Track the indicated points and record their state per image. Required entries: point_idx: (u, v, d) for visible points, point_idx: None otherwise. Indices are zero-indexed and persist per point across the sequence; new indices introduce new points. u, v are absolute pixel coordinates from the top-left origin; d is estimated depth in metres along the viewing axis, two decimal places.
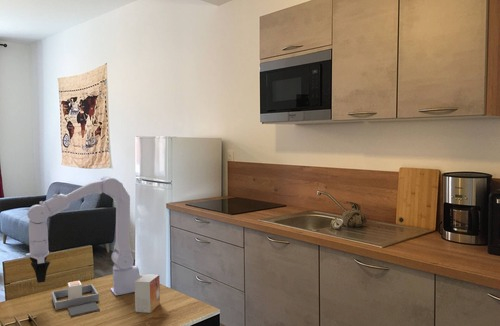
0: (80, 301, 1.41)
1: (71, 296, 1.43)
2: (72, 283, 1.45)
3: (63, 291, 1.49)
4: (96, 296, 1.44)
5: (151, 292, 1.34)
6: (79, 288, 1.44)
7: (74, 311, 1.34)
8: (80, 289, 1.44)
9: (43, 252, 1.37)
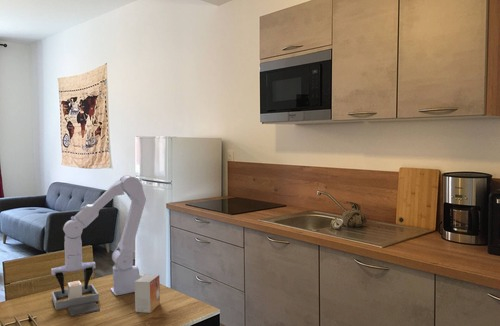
0: (80, 301, 1.41)
1: (71, 296, 1.43)
2: (72, 283, 1.45)
3: None
4: (96, 296, 1.44)
5: (151, 292, 1.34)
6: (79, 288, 1.44)
7: (74, 311, 1.34)
8: (80, 289, 1.44)
9: (66, 266, 1.43)
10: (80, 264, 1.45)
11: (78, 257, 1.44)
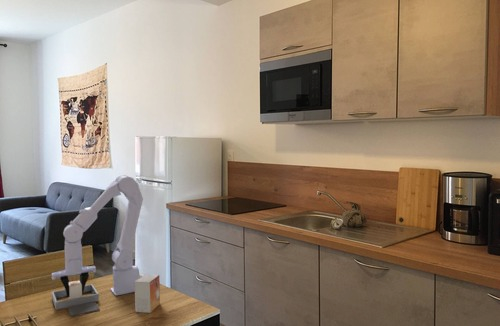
0: (80, 301, 1.41)
1: (71, 296, 1.43)
2: (72, 283, 1.45)
3: (63, 291, 1.49)
4: (96, 296, 1.44)
5: (151, 292, 1.34)
6: (79, 288, 1.44)
7: (74, 311, 1.34)
8: (80, 289, 1.44)
9: (66, 271, 1.43)
10: (80, 268, 1.45)
11: (78, 261, 1.44)
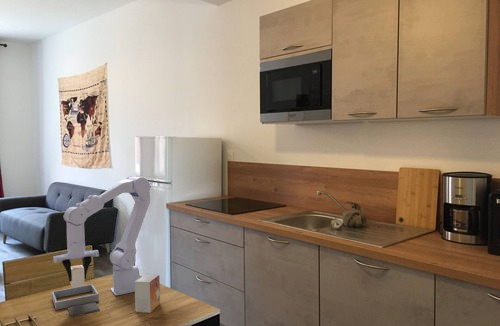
0: (80, 301, 1.41)
1: (73, 280, 1.39)
2: (74, 267, 1.42)
3: (63, 291, 1.49)
4: (96, 296, 1.44)
5: (151, 292, 1.34)
6: (81, 272, 1.40)
7: (74, 311, 1.34)
8: (82, 273, 1.41)
9: (68, 254, 1.39)
10: (83, 252, 1.41)
11: (81, 245, 1.40)
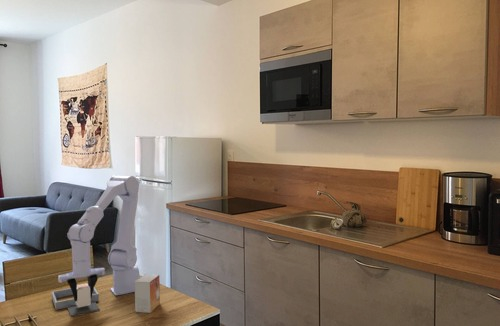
0: None
1: (79, 300, 1.34)
2: (80, 286, 1.37)
3: (63, 291, 1.49)
4: (96, 296, 1.44)
5: (151, 292, 1.34)
6: (87, 292, 1.36)
7: (74, 311, 1.34)
8: (88, 292, 1.36)
9: (74, 273, 1.34)
10: (89, 270, 1.36)
11: (87, 263, 1.35)
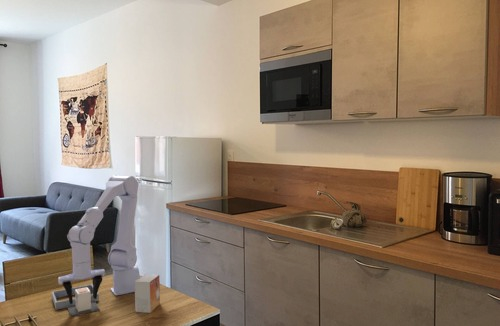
0: None
1: (79, 304, 1.34)
2: (80, 290, 1.37)
3: (63, 291, 1.49)
4: None
5: (151, 292, 1.34)
6: (88, 296, 1.36)
7: (74, 311, 1.34)
8: (89, 296, 1.36)
9: (74, 275, 1.34)
10: (89, 272, 1.36)
11: (87, 265, 1.35)
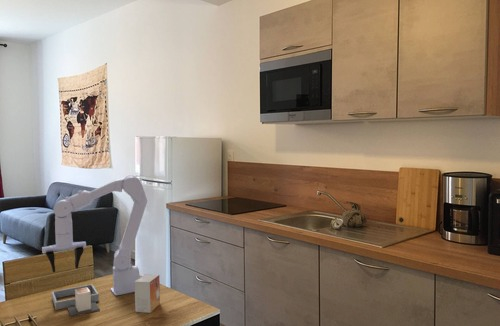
0: None
1: (79, 304, 1.34)
2: (80, 290, 1.37)
3: (63, 291, 1.49)
4: (96, 296, 1.44)
5: (151, 292, 1.34)
6: (88, 296, 1.36)
7: (74, 311, 1.34)
8: (89, 296, 1.36)
9: (57, 245, 1.45)
10: (71, 243, 1.46)
11: (69, 236, 1.45)
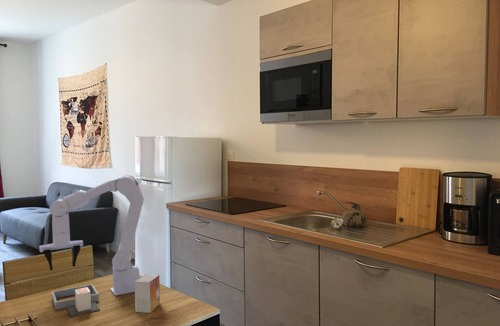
0: None
1: (79, 304, 1.34)
2: (80, 290, 1.37)
3: (63, 291, 1.49)
4: (96, 296, 1.44)
5: (151, 292, 1.34)
6: (88, 296, 1.36)
7: (74, 311, 1.34)
8: (89, 296, 1.36)
9: (54, 244, 1.47)
10: (68, 242, 1.49)
11: (65, 235, 1.48)
